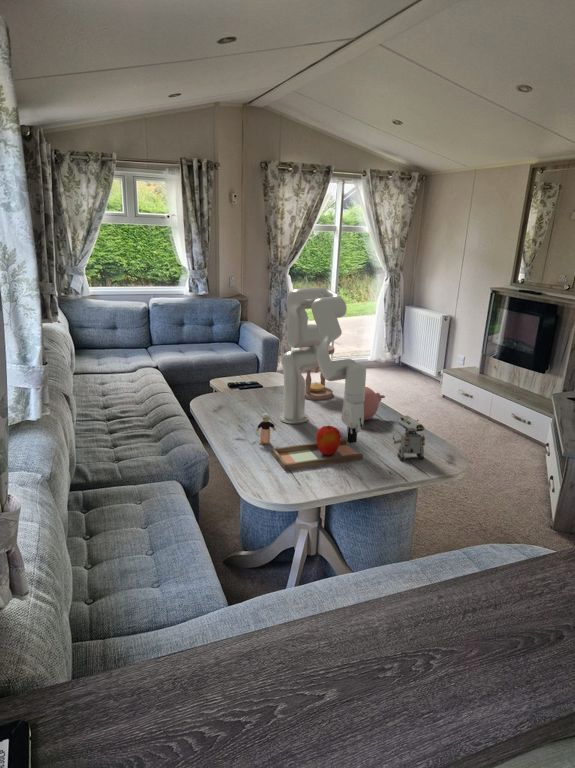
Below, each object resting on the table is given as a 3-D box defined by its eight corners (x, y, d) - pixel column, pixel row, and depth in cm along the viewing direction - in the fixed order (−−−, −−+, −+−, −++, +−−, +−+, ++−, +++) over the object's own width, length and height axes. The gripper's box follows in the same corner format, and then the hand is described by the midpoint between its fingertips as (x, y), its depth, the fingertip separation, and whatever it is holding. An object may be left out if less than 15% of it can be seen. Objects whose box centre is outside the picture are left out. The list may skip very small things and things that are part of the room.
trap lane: (271, 453, 202) (271, 448, 201) (345, 444, 212) (345, 439, 211) (284, 470, 188) (284, 465, 188) (362, 459, 199) (363, 454, 198)
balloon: (392, 422, 237) (395, 389, 232) (352, 427, 230) (354, 393, 225) (375, 411, 250) (378, 379, 246) (337, 415, 244) (339, 383, 239)
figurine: (413, 449, 208) (417, 413, 204) (425, 461, 198) (429, 424, 193) (391, 450, 207) (394, 414, 203) (402, 463, 196) (405, 425, 192)
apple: (313, 457, 199) (314, 427, 195) (318, 448, 207) (319, 419, 204) (337, 461, 196) (338, 431, 193) (342, 451, 205) (343, 422, 201)
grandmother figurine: (257, 445, 209) (257, 415, 205) (255, 442, 212) (255, 412, 209) (276, 444, 211) (276, 414, 207) (274, 440, 214) (274, 410, 211)
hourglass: (316, 387, 284) (317, 342, 277) (339, 395, 272) (341, 348, 264) (291, 393, 273) (292, 346, 266) (314, 402, 261) (316, 353, 253)
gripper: (336, 391, 204) (334, 436, 209) (354, 404, 191) (351, 451, 196) (354, 390, 206) (351, 433, 212) (372, 402, 193) (369, 448, 198)
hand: (351, 442), depth 204 cm, fingers closed
